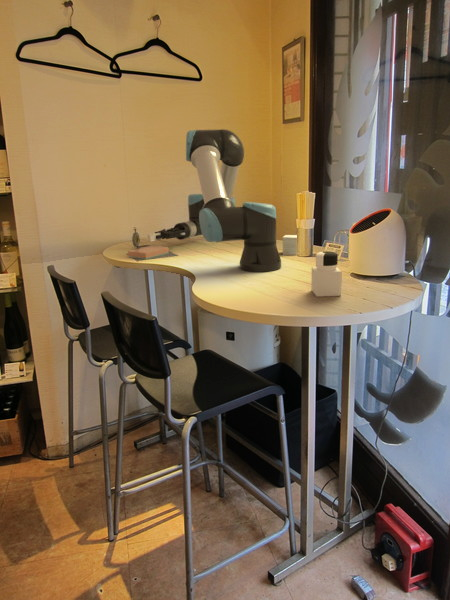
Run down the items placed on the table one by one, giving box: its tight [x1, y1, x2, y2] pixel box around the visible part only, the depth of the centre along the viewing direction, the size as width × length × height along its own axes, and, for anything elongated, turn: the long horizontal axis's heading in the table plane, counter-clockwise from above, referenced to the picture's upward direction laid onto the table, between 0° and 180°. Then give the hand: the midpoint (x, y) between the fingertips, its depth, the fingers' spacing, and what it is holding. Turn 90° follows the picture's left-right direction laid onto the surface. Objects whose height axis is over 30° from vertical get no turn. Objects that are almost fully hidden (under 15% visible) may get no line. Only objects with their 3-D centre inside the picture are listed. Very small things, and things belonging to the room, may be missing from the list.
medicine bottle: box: [310, 250, 343, 298], centre depth 134 cm, size 7×7×12 cm
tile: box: [127, 245, 170, 259], centre depth 199 cm, size 3×10×14 cm
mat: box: [126, 250, 180, 263], centre depth 200 cm, size 18×18×1 cm
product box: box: [282, 234, 298, 256], centre depth 192 cm, size 6×6×7 cm
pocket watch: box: [131, 226, 151, 249], centre depth 216 cm, size 8×8×10 cm
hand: (149, 238), depth 198 cm, fingers closed
